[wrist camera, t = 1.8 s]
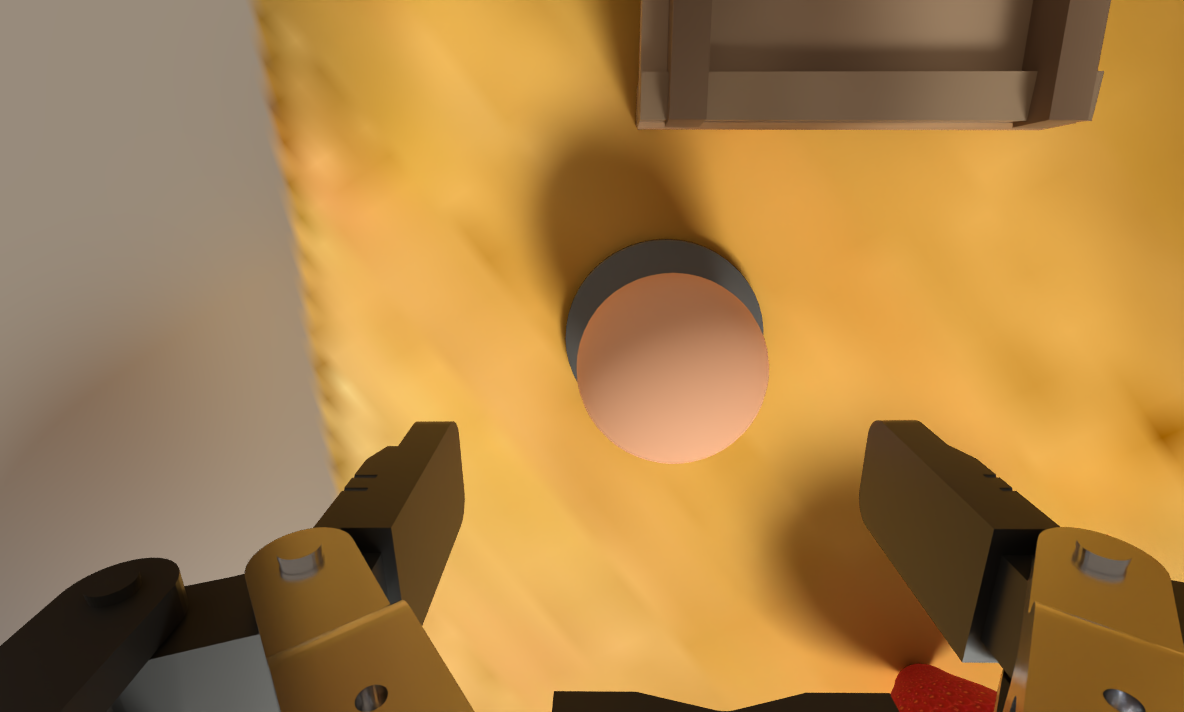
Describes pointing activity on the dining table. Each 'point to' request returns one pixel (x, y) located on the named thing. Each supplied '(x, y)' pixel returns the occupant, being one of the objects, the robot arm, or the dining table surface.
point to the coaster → (645, 263)
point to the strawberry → (939, 692)
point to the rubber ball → (672, 368)
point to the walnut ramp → (869, 64)
